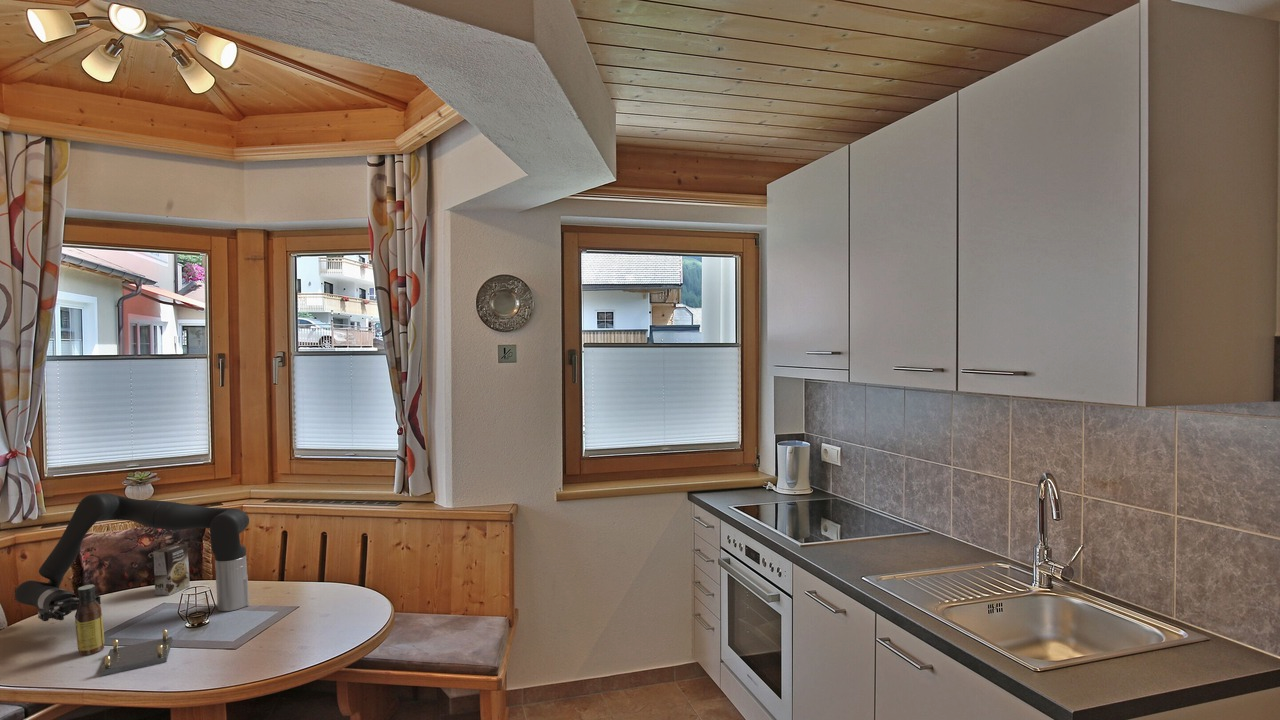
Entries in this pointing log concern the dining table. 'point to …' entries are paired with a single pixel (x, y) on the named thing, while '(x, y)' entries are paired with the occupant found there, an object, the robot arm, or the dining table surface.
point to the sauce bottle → (89, 622)
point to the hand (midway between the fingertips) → (79, 611)
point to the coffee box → (171, 569)
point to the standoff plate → (136, 655)
